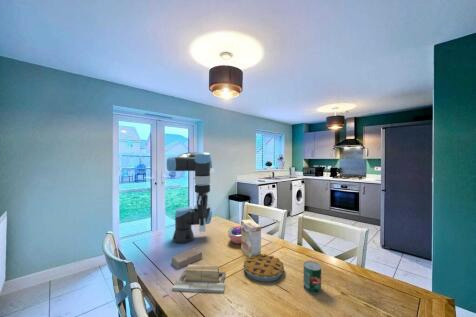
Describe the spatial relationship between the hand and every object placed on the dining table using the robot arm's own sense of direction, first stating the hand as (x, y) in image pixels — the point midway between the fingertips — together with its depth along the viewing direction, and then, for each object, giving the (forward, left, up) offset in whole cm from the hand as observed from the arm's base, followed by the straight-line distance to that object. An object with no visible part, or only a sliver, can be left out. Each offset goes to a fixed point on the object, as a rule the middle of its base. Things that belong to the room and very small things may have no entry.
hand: (202, 230), depth 101 cm
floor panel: (+1, 0, -24) cm, 24 cm away
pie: (-10, +31, -25) cm, 41 cm away
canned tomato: (+3, +53, -25) cm, 59 cm away
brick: (-16, -13, -25) cm, 33 cm away
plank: (0, 0, -24) cm, 24 cm away
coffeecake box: (-29, +24, -25) cm, 45 cm away
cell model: (-46, +16, -25) cm, 54 cm away
